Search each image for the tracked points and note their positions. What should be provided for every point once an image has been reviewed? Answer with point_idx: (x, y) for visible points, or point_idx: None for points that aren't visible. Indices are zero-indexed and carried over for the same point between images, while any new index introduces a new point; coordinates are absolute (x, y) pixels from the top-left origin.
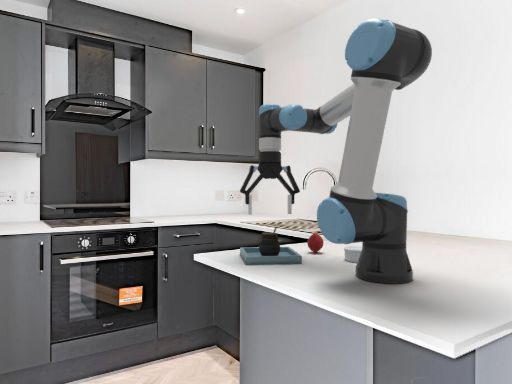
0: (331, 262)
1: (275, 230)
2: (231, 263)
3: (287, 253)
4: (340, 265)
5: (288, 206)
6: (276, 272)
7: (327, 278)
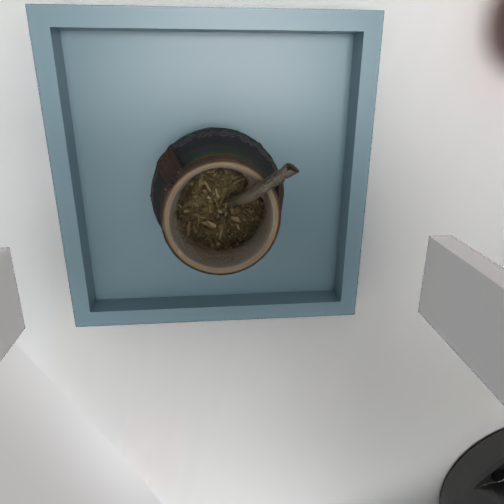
0: None
1: (275, 185)
2: None
3: (341, 93)
4: None
5: (464, 311)
6: (202, 426)
7: (348, 494)
